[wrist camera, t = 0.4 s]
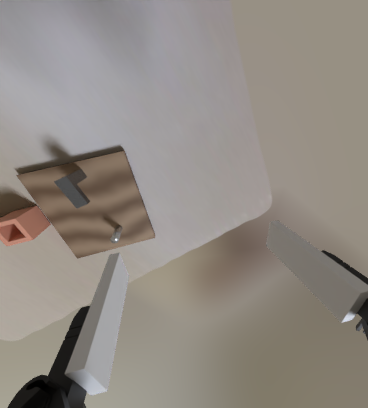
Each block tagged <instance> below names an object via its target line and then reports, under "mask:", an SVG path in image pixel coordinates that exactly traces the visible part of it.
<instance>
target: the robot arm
mask: <svg viewBox="0 0 368 408" xmlns="http://www.w3.org/2000/svg"><path fill="white" fill-rule="evenodd" d="M266 246H267V247H268V248H269V249H270V250H271V251H272V252H273V253H274V254H275V255H276V256H277V257H278V258H279V259H280V260H281V261H282V262H283V263H284V264H285V266H286V267H287V268H288V269H289V270H290V271H291V272H292V273H293V274H294V275H295V276H296V277H297V278H298V279H299V280H300V281H301V282H302V283H303V284H304V285H305V286H306V287H307V288H308V289H309V290H310V291H311V292H312V293H313V294H314V295H315V296H316V297H317V298H318V299H319V300H320V301H321V302H322V304H323V305H325V307H326V308H327V309H328V310H329V311H330V312H331V313H332V314H333V315H334V316H335V317H336V318H337V319H338V320H339V321H340V322H341V323H342V322H346V321H349V320H352V319H353V318H354V317H355V316H356V314H359V315H360V316H361V317H362V319H361V320H360V322H359V323H358V324H357V326H356V330H357V331H359V330H360V329H361V328H362V327H363V329H364V331H363V333H365V334H366V337H367V340H368V278H367V277H365V276H364V275H362V274H361V273H359V272H358V271H356V270H355V269H354V268H352V267H350V266H349V265H348V264H346V263H344V262H343V261H342V260H340V259H339V258H338V257H336V256H335V255H333V254H331V253H328V252H326V251H320V250H318V249H317V248H316V247H314V246H313V245H311V244H310V243H309V242H307V241H306V240H305V239H303V238H302V237H300V236H299V235H298V234H296V233H295V232H293V231H292V230H291V229H289V228H288V227H286V226H285V225H284V224H282V223H281V222H280V221H272V222H270V225H269V231H268V238H267V244H266ZM128 279H129V274H128V272H127V269H126V267H125V265H124V262H123V260H122V257H121V255H120V253H116V254H111V255H110V256H109V258H108V261H107V263H106V266H105V269H104V271H103V274H102V277H101V279H100V282H99V285H98V287H97V290H96V292H95V295H94V298H93V300H92V303H91V305H90V306H86V307H82V308H81V309H80V310H79V312H78V313H77V314H76V316H75V317H74V319H73V321H72V323H71V325H70V328H69V331H68V332H67V334H66V336H65V340H64V341H63V344H62V345H61V348H60V350H59V352H58V354H57V357H56V359H55V361H54V364H53V366H52V368H51V370H50V372H49V375H48V376H46V375H40V376H37V377H35V378H33V379H32V380H30V381H29V382H28V383H26V384H25V385H24V386H23V387H22V388H21V390H20V391H19V392H18V393H17V394H16V395H15V397H14V398H13V400H12V401H11V403H10V404H9V406H8V408H86V406H85V404H84V400H85V396H86V392H87V393H89V394H90V395H95V394H99V393H102V392H106V391H107V390H108V385H109V380H110V375H111V370H112V364H113V359H114V354H115V348H116V343H117V337H118V332H119V327H120V321H121V316H122V311H123V306H124V301H125V295H126V290H127V285H128Z"/></svg>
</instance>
